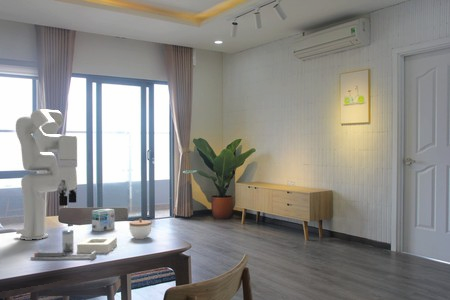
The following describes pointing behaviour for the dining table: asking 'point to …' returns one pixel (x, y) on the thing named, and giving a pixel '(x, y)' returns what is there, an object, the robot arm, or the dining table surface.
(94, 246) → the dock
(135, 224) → the lidded jar
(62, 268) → the dining table surface
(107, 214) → the light bulb box
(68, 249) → the grey canister
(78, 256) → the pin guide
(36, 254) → the lock pin
